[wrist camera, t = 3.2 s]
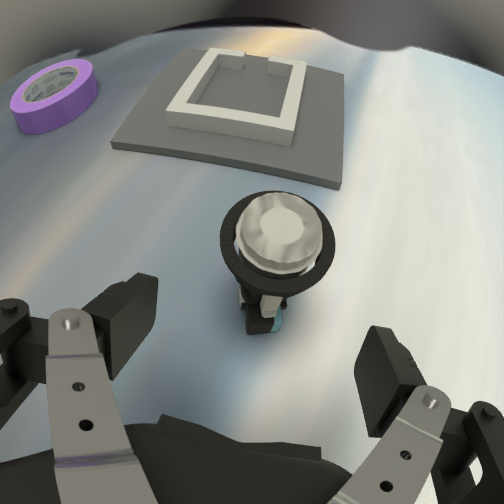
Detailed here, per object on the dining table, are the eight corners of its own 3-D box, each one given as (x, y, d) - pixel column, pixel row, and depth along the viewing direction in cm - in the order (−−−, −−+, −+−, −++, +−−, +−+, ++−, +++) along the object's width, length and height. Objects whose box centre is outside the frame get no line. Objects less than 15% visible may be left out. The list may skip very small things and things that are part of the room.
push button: (218, 253, 24) (215, 159, 15) (289, 249, 25) (320, 157, 16) (225, 341, 21) (223, 288, 12) (303, 334, 22) (354, 277, 13)
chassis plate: (112, 148, 29) (105, 126, 26) (182, 54, 38) (181, 36, 35) (338, 190, 28) (348, 168, 25) (341, 80, 37) (347, 62, 35)
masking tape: (99, 71, 36) (94, 49, 33) (97, 116, 31) (89, 90, 28) (28, 97, 34) (20, 77, 31) (13, 147, 29) (0, 125, 26)
